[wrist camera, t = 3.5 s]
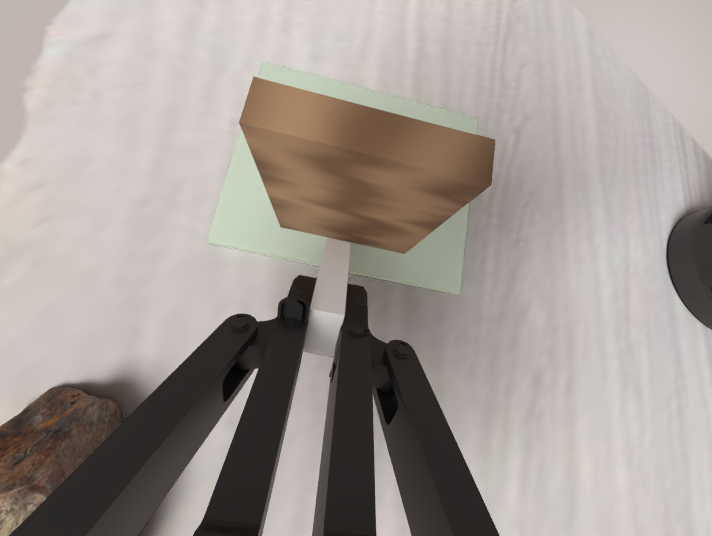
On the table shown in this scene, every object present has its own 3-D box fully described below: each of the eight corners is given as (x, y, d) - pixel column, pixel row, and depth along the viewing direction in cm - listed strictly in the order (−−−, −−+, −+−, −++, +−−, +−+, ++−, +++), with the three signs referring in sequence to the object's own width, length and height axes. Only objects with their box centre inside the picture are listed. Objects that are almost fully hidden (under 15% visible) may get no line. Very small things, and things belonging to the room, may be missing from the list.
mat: (474, 123, 32) (478, 118, 31) (456, 294, 28) (460, 293, 27) (263, 67, 30) (262, 60, 29) (209, 243, 26) (205, 241, 25)
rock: (155, 367, 24) (20, 396, 23) (70, 378, 16) (-152, 424, 14) (163, 569, 21) (4, 621, 19) (58, 716, 13) (-236, 828, 11)
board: (408, 229, 28) (495, 139, 14) (404, 253, 27) (491, 184, 14) (286, 202, 27) (253, 76, 13) (280, 227, 26) (239, 122, 12)
